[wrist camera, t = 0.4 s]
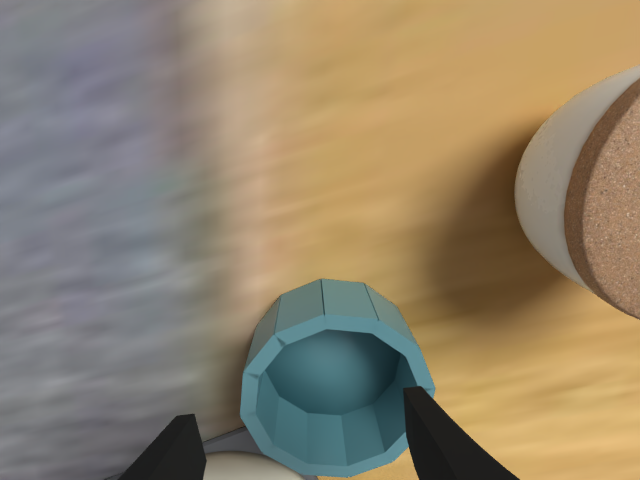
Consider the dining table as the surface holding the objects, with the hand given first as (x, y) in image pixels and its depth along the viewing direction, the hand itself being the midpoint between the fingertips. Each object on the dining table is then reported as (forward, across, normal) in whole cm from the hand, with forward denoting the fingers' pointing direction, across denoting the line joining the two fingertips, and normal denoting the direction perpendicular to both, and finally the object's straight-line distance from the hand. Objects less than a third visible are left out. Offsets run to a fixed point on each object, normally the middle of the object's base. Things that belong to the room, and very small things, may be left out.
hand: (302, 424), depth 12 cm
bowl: (+10, -1, +4) cm, 11 cm away
